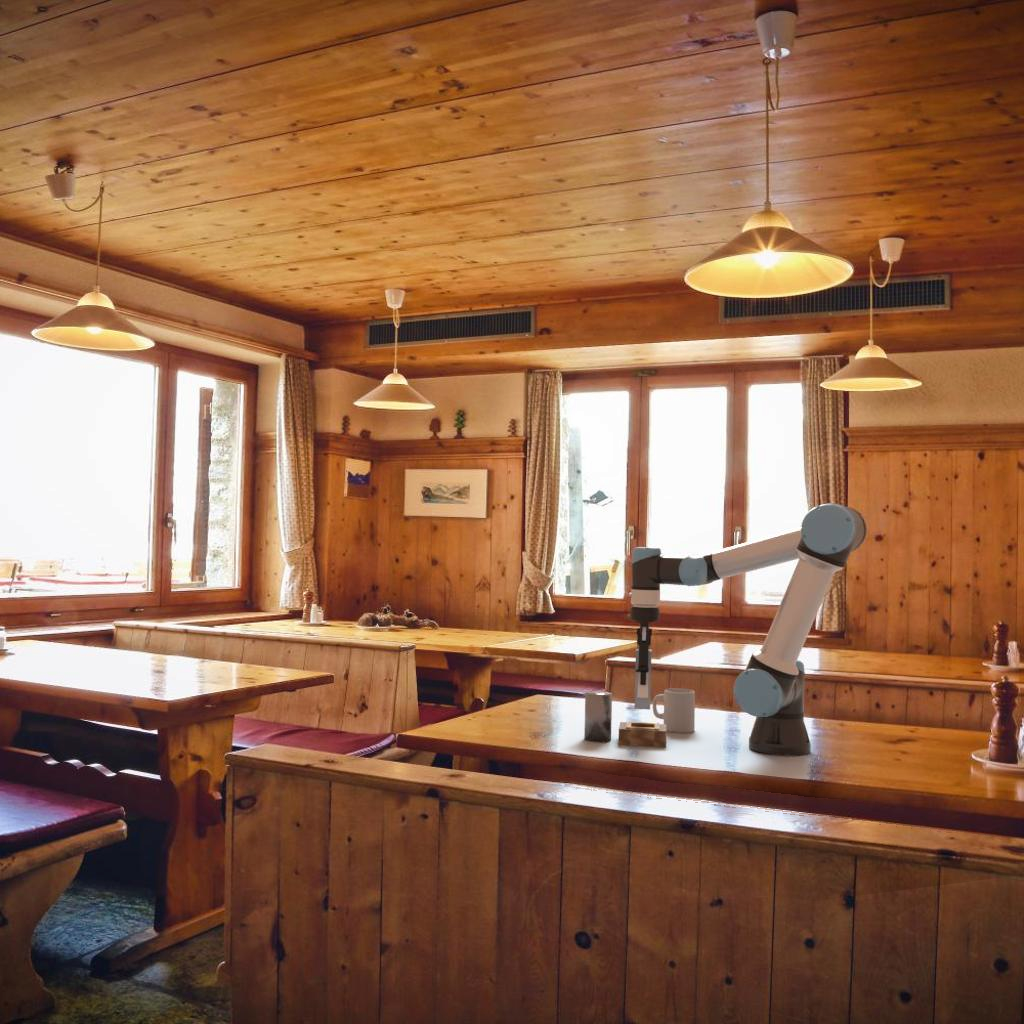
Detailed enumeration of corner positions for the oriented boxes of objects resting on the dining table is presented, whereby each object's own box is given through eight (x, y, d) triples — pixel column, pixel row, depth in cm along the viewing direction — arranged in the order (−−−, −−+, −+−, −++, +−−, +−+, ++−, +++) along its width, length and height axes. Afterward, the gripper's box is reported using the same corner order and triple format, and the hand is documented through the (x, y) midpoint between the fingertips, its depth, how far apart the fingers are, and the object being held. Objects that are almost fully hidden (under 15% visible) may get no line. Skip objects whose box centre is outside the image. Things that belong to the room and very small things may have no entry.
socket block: (665, 739, 252) (666, 722, 252) (666, 747, 242) (666, 729, 242) (620, 737, 254) (620, 720, 254) (618, 744, 244) (618, 727, 244)
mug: (698, 729, 268) (698, 690, 268) (689, 734, 260) (689, 693, 261) (657, 724, 273) (658, 686, 274) (647, 729, 266) (648, 689, 266)
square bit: (650, 707, 250) (651, 646, 251) (650, 709, 246) (651, 648, 247) (634, 706, 251) (636, 645, 251) (634, 708, 247) (635, 647, 247)
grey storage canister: (615, 741, 248) (616, 695, 248) (591, 742, 246) (592, 695, 246) (603, 736, 255) (604, 691, 255) (580, 737, 252) (581, 691, 253)
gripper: (631, 603, 258) (629, 690, 257) (629, 607, 241) (627, 700, 241) (659, 604, 257) (657, 692, 256) (659, 608, 240) (657, 702, 239)
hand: (642, 695), depth 248 cm, fingers closed on square bit, 4 cm apart
